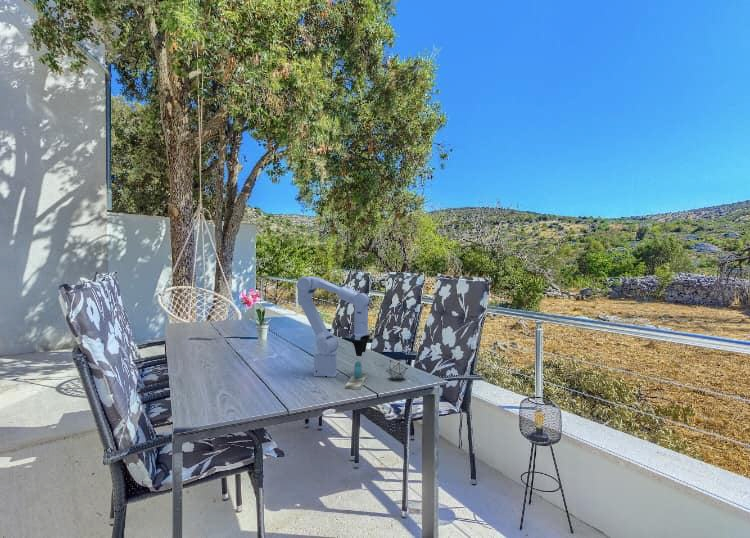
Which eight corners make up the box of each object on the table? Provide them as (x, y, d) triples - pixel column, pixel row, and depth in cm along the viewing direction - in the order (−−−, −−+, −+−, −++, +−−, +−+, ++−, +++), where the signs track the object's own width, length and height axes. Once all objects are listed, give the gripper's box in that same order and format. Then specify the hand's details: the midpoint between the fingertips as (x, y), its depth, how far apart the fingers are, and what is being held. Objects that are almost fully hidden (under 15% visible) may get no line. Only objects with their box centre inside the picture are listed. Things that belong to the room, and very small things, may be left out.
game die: (400, 389, 165) (405, 373, 159) (381, 380, 167) (386, 365, 161) (406, 373, 172) (412, 358, 166) (388, 365, 174) (393, 350, 168)
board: (344, 388, 153) (344, 385, 153) (353, 375, 171) (353, 373, 171) (359, 389, 152) (359, 386, 152) (367, 376, 170) (367, 373, 170)
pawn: (353, 378, 163) (353, 361, 163) (355, 376, 166) (355, 360, 166) (360, 379, 162) (360, 362, 162) (362, 377, 165) (362, 360, 165)
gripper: (367, 324, 161) (366, 358, 161) (373, 319, 175) (373, 350, 175) (350, 324, 162) (349, 357, 162) (357, 319, 176) (357, 350, 176)
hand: (360, 354), depth 169 cm, fingers open, 7 cm apart
